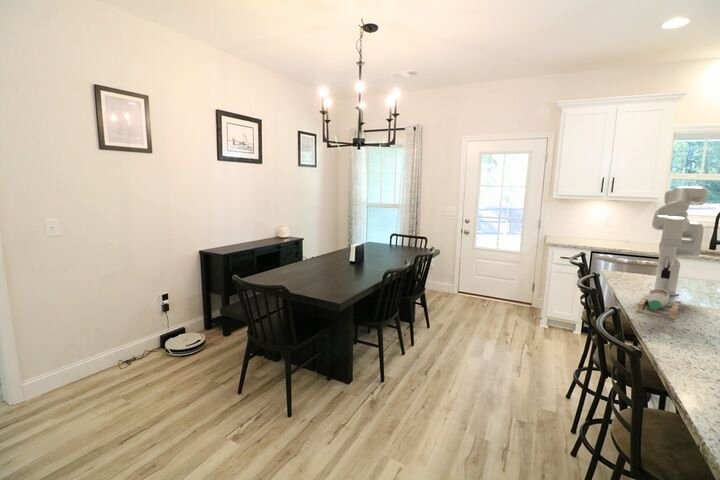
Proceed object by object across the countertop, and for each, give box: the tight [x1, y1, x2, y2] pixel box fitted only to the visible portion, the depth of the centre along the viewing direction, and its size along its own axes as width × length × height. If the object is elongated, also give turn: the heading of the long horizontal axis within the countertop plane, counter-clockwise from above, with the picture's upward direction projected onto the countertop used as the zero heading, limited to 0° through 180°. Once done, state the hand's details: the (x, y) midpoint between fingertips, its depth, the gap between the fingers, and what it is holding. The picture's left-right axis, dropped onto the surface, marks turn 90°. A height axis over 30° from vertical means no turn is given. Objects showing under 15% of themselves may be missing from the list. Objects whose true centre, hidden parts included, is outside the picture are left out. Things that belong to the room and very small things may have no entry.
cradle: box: [636, 294, 682, 320], centre depth 172 cm, size 20×14×4 cm
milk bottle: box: [647, 289, 671, 310], centre depth 173 cm, size 8×8×20 cm
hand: (665, 278), depth 175 cm, fingers closed
